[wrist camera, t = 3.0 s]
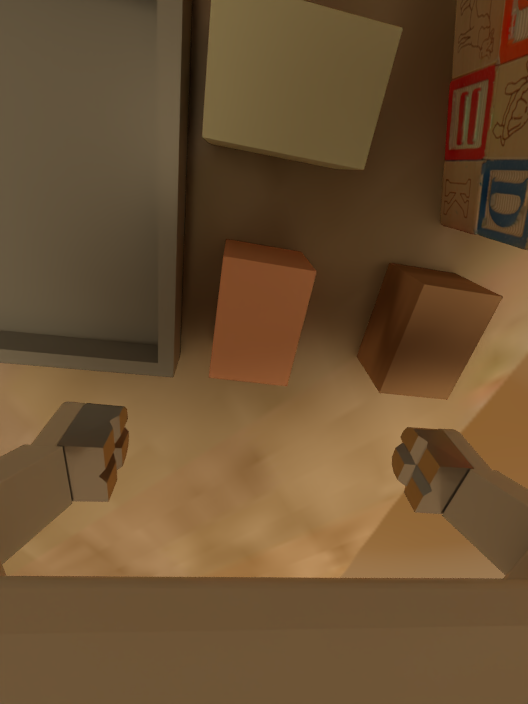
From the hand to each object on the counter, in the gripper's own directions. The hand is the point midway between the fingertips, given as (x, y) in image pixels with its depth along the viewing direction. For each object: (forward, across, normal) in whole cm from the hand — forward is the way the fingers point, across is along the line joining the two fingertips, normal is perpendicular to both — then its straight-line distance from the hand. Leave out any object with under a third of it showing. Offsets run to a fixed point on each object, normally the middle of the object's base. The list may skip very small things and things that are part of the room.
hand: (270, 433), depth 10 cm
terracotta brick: (+11, 0, 0) cm, 11 cm away
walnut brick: (+11, -9, 0) cm, 14 cm away
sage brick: (+10, 0, -10) cm, 14 cm away
